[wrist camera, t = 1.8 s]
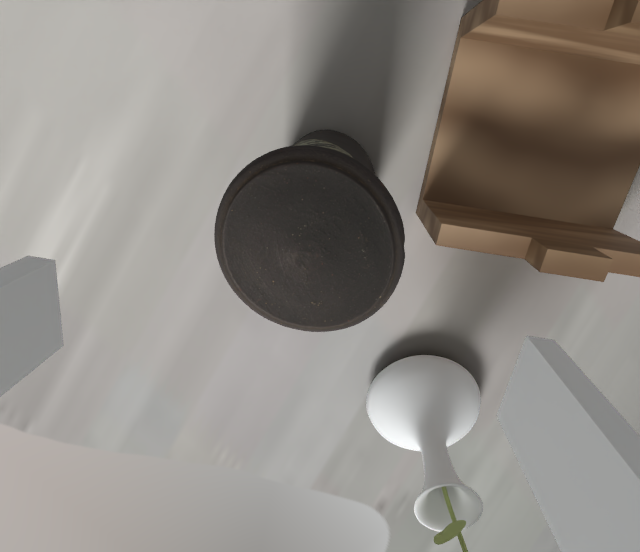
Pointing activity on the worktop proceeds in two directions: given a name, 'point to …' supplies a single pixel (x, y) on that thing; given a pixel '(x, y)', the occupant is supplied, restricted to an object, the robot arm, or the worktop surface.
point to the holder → (539, 136)
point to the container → (311, 235)
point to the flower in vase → (430, 433)
